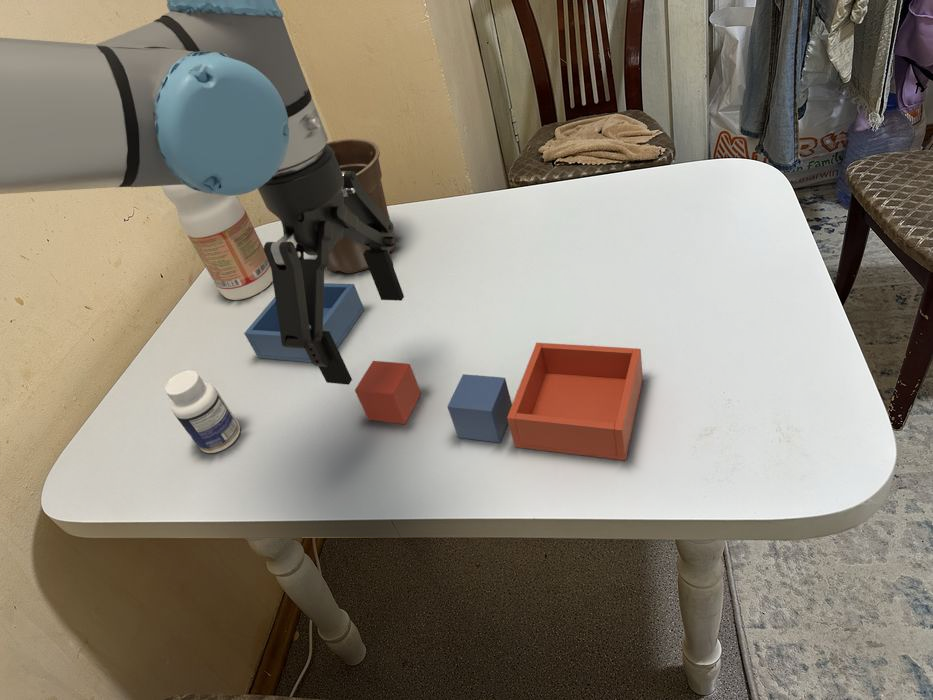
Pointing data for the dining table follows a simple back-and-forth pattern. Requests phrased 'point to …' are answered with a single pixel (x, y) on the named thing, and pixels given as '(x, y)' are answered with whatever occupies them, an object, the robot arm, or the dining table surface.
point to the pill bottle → (202, 412)
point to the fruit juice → (223, 240)
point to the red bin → (578, 400)
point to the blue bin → (337, 319)
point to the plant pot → (367, 168)
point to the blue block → (480, 407)
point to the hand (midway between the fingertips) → (367, 337)
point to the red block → (388, 392)
